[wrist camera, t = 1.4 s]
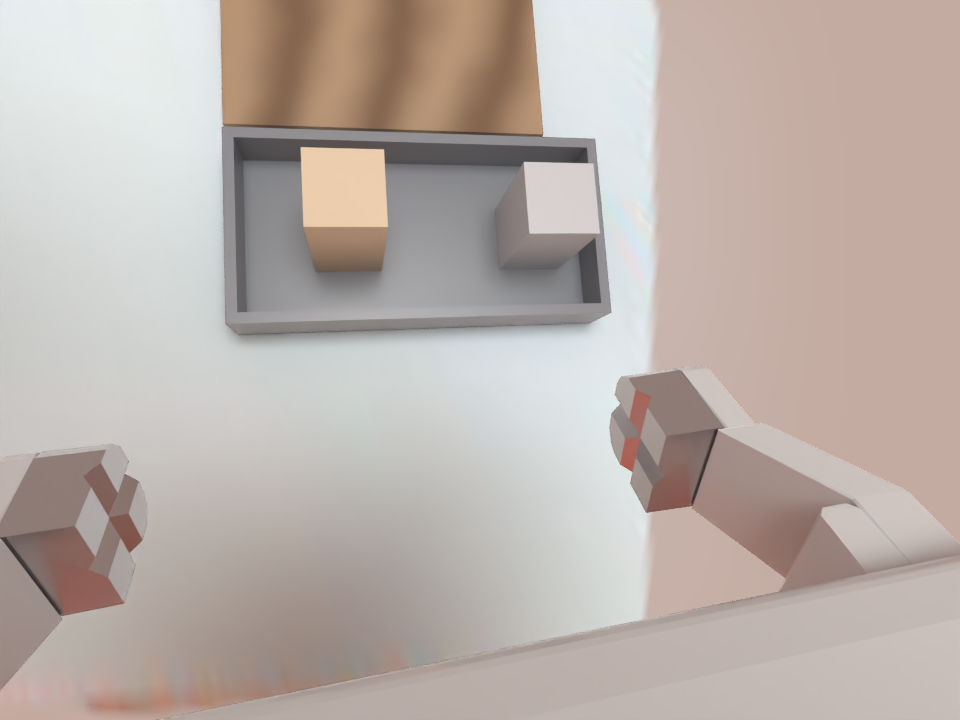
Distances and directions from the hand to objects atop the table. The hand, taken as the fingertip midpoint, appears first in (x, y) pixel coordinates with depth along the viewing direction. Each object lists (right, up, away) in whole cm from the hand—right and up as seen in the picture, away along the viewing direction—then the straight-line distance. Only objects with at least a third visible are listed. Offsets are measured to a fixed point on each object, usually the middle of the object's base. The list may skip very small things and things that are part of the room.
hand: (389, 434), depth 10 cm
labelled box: (-7, +9, +27) cm, 29 cm away
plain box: (+5, +9, +29) cm, 31 cm away
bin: (-2, +9, +28) cm, 30 cm away
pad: (-5, +22, +30) cm, 37 cm away
